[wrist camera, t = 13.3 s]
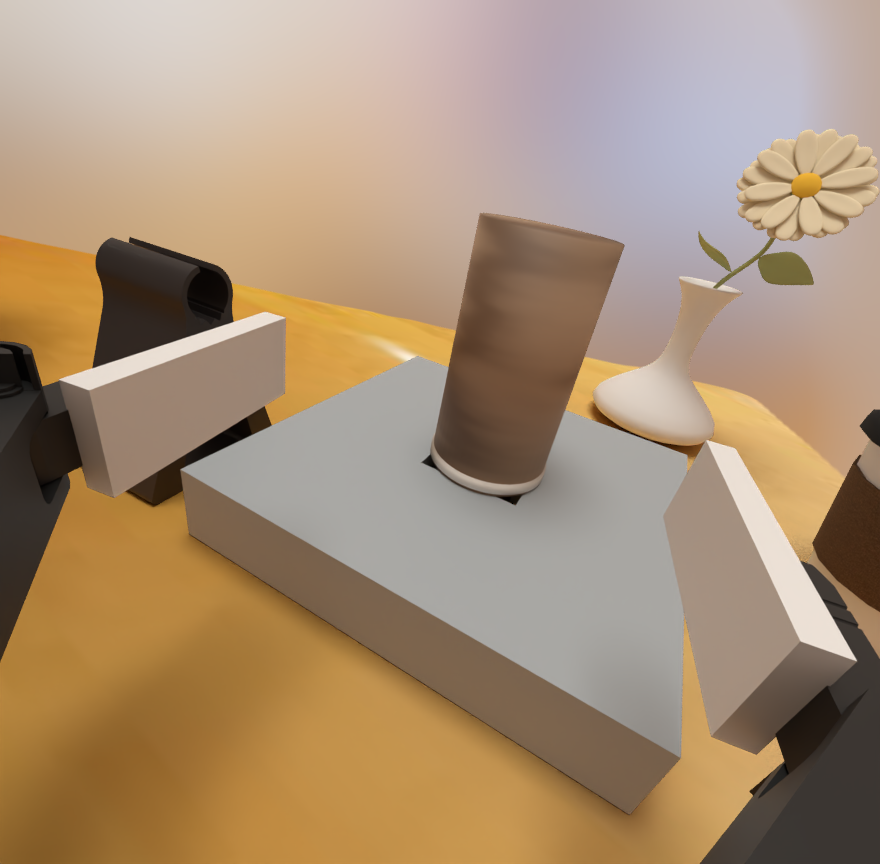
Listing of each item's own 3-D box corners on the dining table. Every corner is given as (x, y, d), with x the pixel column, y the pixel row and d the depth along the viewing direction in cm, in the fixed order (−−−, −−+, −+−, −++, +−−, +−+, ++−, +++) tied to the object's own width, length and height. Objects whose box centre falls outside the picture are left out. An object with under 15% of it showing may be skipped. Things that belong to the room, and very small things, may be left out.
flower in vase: (564, 408, 44) (674, 102, 32) (623, 392, 51) (732, 136, 39) (691, 481, 36) (903, 110, 24) (741, 450, 43) (924, 151, 31)
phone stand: (152, 507, 24) (109, 274, 18) (77, 465, 25) (16, 240, 19) (275, 439, 31) (274, 258, 25) (211, 410, 33) (196, 234, 27)
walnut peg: (405, 480, 29) (453, 206, 21) (493, 471, 31) (566, 226, 24) (445, 555, 24) (528, 231, 16) (546, 537, 26) (660, 253, 19)
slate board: (189, 533, 23) (180, 469, 21) (410, 397, 40) (417, 356, 38) (629, 814, 15) (680, 758, 13) (663, 499, 33) (687, 455, 31)
